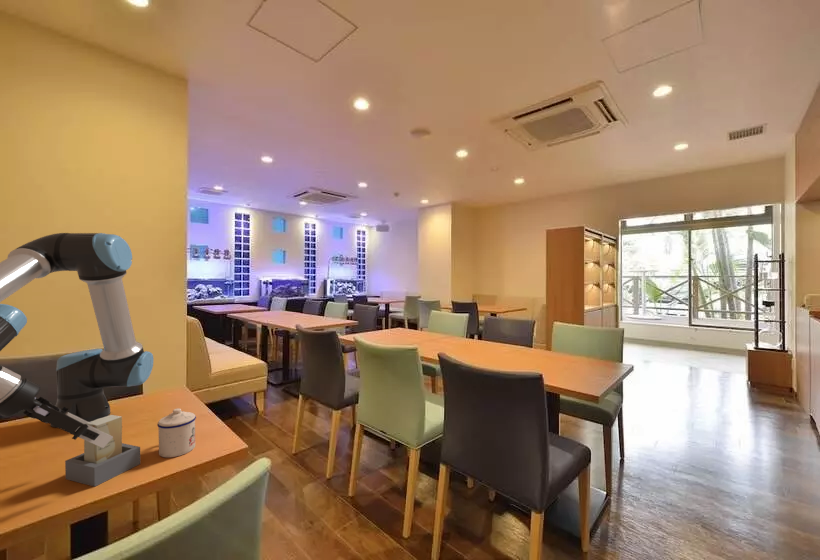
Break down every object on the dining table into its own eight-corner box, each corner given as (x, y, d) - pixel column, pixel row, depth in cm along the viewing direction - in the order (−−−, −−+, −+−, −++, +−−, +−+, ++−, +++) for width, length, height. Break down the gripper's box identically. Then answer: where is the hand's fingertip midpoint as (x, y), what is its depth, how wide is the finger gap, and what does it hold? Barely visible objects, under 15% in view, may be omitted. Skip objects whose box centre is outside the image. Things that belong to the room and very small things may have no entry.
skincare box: (95, 476, 85) (94, 426, 85) (83, 473, 86) (82, 423, 86) (123, 462, 91) (123, 415, 91) (111, 459, 93) (110, 413, 92)
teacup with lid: (198, 451, 99) (197, 410, 99) (158, 462, 93) (157, 418, 93) (193, 436, 108) (192, 398, 108) (156, 444, 103) (156, 405, 103)
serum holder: (65, 478, 86) (65, 460, 86) (112, 457, 96) (112, 441, 96) (94, 486, 83) (94, 467, 83) (140, 463, 93) (140, 446, 92)
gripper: (-26, 397, 79) (66, 437, 92) (-1, 422, 66) (103, 465, 79) (9, 368, 83) (92, 410, 96) (39, 386, 70) (131, 432, 83)
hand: (97, 435), depth 88 cm, fingers open, 13 cm apart
